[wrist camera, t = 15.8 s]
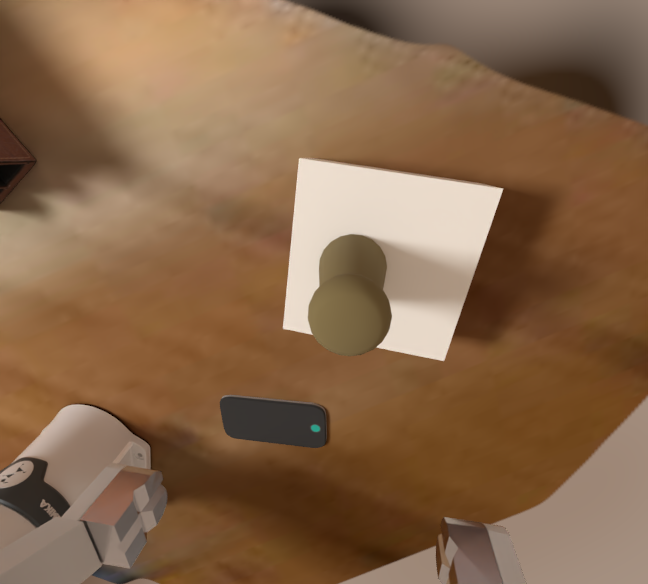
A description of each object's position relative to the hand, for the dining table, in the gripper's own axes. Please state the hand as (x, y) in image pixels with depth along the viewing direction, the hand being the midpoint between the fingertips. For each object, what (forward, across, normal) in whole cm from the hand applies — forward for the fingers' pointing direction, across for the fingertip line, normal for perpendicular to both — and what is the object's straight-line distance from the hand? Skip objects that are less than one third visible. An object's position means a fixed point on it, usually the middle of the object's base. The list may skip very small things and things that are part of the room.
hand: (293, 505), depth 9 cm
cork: (+22, 0, 0) cm, 22 cm away
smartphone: (+28, +10, +25) cm, 39 cm away
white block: (+28, -2, 0) cm, 28 cm away
